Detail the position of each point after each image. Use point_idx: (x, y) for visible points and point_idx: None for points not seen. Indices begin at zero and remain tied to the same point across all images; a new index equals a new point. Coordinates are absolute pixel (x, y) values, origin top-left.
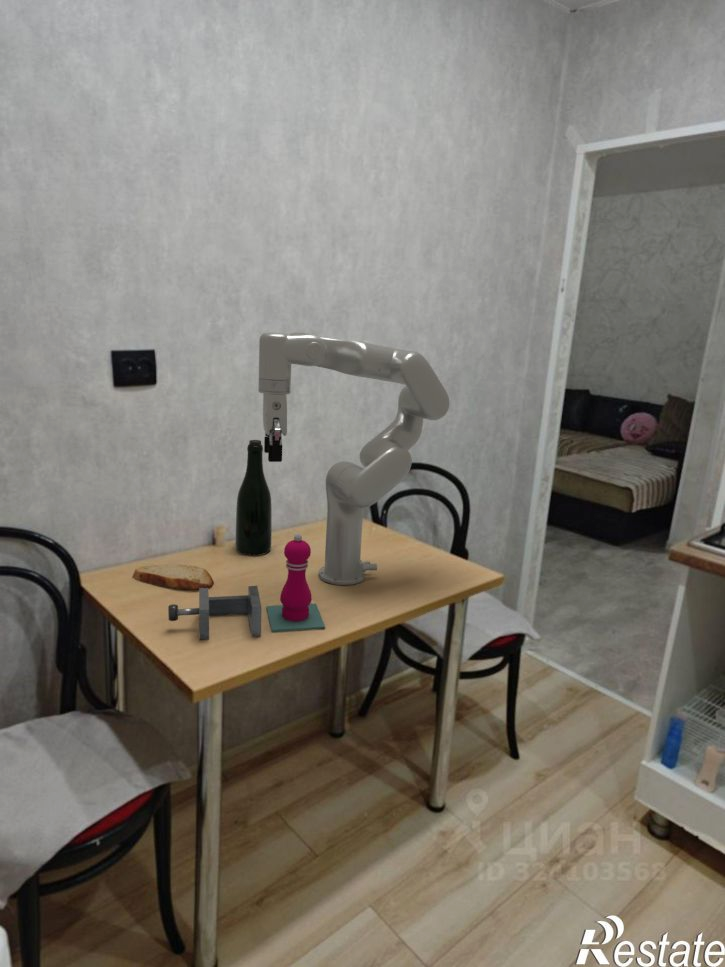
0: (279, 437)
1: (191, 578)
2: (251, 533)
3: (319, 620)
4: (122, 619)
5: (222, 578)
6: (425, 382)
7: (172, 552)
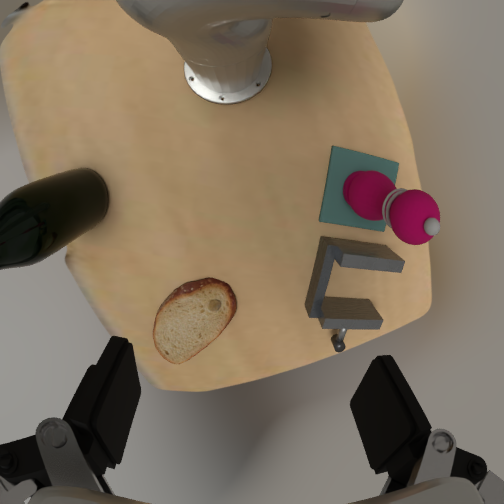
0: (481, 470)
1: (209, 310)
2: (89, 216)
3: (383, 163)
4: (290, 369)
5: (193, 263)
6: None
7: (96, 311)
